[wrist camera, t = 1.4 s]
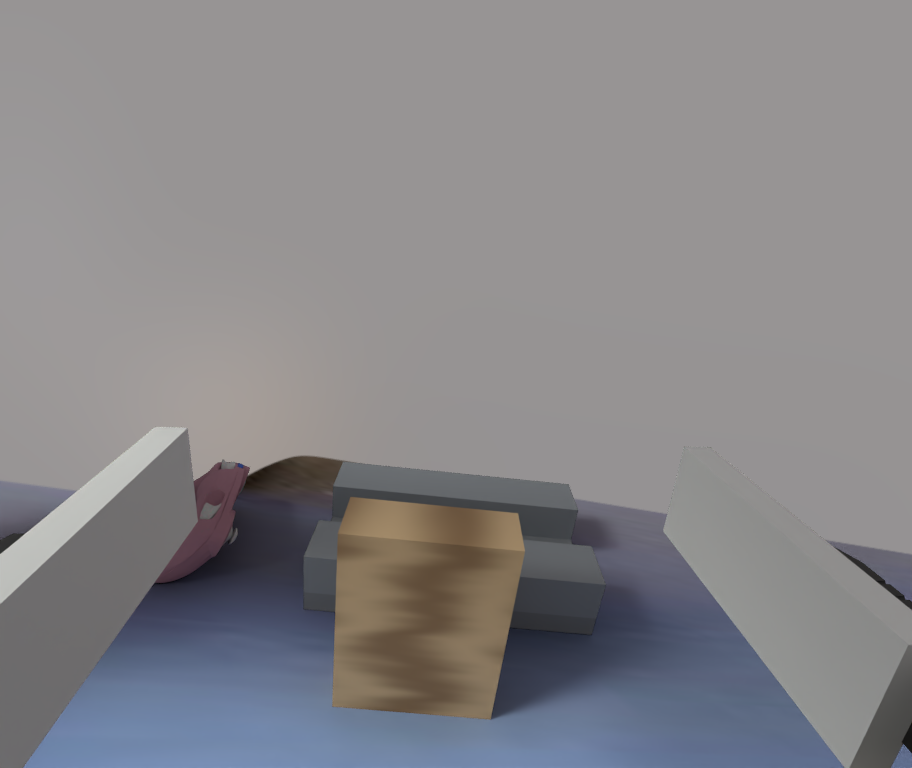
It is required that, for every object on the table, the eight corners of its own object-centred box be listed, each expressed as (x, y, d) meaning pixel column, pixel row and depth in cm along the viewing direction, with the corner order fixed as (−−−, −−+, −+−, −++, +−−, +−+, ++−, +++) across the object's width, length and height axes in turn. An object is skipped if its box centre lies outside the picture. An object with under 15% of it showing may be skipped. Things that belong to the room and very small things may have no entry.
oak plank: (332, 706, 28) (337, 533, 24) (343, 659, 31) (350, 496, 26) (490, 719, 28) (525, 551, 24) (487, 671, 31) (518, 513, 27)
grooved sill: (303, 609, 34) (303, 556, 32) (342, 504, 45) (343, 461, 43) (591, 634, 35) (605, 584, 33) (559, 525, 46) (568, 484, 44)
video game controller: (202, 603, 35) (246, 529, 34) (134, 585, 34) (177, 506, 32) (229, 516, 44) (265, 455, 43) (177, 498, 42) (212, 434, 41)
